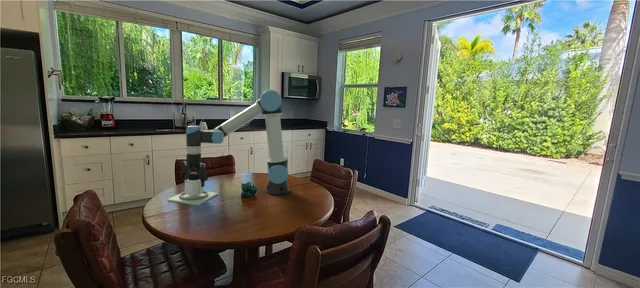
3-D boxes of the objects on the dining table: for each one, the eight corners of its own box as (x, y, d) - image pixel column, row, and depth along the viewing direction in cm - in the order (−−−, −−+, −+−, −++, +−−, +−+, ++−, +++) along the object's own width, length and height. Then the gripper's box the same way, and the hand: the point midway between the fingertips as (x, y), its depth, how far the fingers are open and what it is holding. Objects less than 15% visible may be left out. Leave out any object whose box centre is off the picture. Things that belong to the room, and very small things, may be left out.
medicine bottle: (203, 193, 158) (203, 173, 156) (192, 196, 152) (192, 175, 150) (196, 190, 161) (195, 171, 160) (184, 193, 155) (184, 173, 154)
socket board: (218, 194, 164) (218, 190, 164) (198, 205, 146) (198, 201, 146) (190, 190, 168) (190, 187, 167) (167, 201, 149) (167, 197, 149)
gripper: (214, 153, 155) (214, 191, 158) (181, 150, 159) (182, 187, 162) (207, 155, 147) (207, 195, 151) (172, 152, 151) (173, 191, 154)
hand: (194, 191), depth 156 cm, fingers closed on medicine bottle, 9 cm apart
